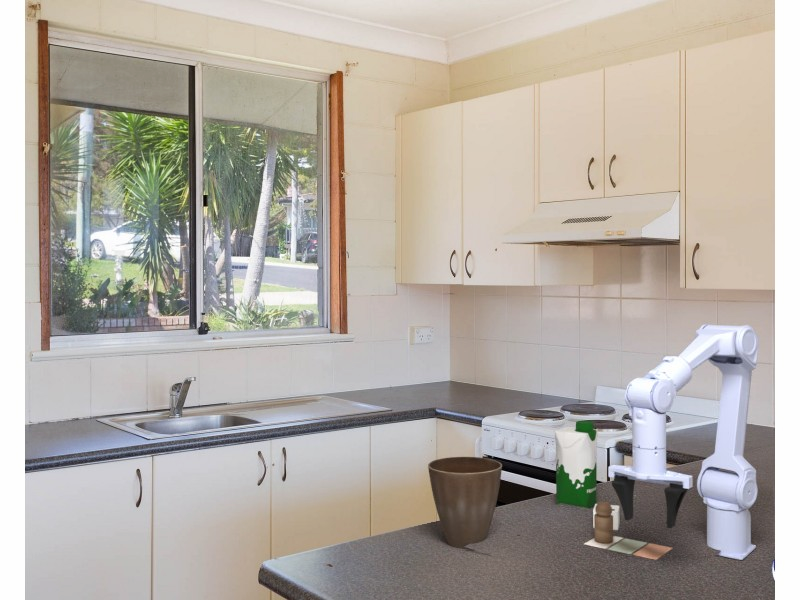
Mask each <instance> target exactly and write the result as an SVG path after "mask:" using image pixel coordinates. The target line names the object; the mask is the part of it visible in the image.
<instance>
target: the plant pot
mask: <svg viewBox="0 0 800 600" xmlns="http://www.w3.org/2000/svg"><path fill="white" fill-rule="evenodd" d="M427 469H428V475H429V482H430V488H431V492H432V496H433V500H434V504H435V508H436V513H437V515H438V520H439V521H440V526H441V528H442V531H443V533H444V536H445V539H446V541H447V543H448V545H450V547H451V546H452V547H454V548H457V549H467V546H468V545H471V544H478V543H483V542H484V541H486V539H487V536H488V534H489V531H490V528H491V526H492V525H491V524H492V521H493V519H494V515H495V514H494V513H495V509H496V505H497V501H498V496H499V490H500V485H501V477H502V470H503V464H502V463H501V462H500V461H498V460H495V459H491V458H485V457H478V456H477V457H476V456H452V457H451V456H449V457H443V458H437V459H434V460H432V461H430V462H429V463H428V464H427Z"/></svg>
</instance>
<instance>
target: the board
mask: <svg viewBox="0 0 800 600" xmlns="http://www.w3.org/2000/svg"><path fill="white" fill-rule="evenodd" d="M583 545H585V546H586V545H587V546H591V547H596V548H598V549H599V548H600V549H604V550H609V551H614V552H619V553H623V554H628V555H633V556H637V557H643V558H645V559H650V560H658V559H660V558H661V557H662V556H664V555H666V554H667V553H669V551H672V549H673V547H670V546H665V545H661V544H656V543H651V542H649V543H648V542H647V541H646V542H645V541H640V540H636V539H631V538H624V537H622V536H616V535H613V543H610V544H602V543H597V542H595V537H593V538H592V539H590V540H588V541H587V542H584V543H583Z"/></svg>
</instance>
